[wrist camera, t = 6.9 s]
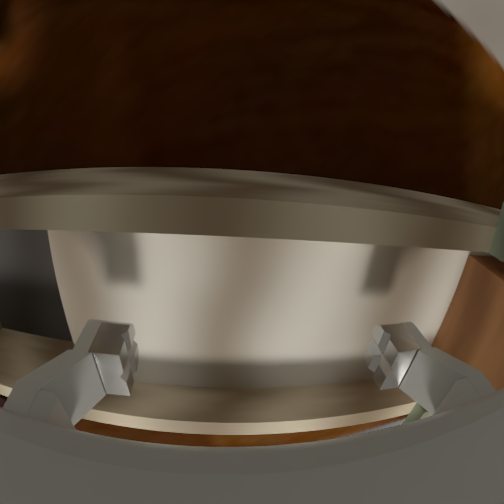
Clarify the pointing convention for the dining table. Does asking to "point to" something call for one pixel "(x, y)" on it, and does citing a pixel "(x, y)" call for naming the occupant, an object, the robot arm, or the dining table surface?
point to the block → (477, 319)
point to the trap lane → (230, 288)
